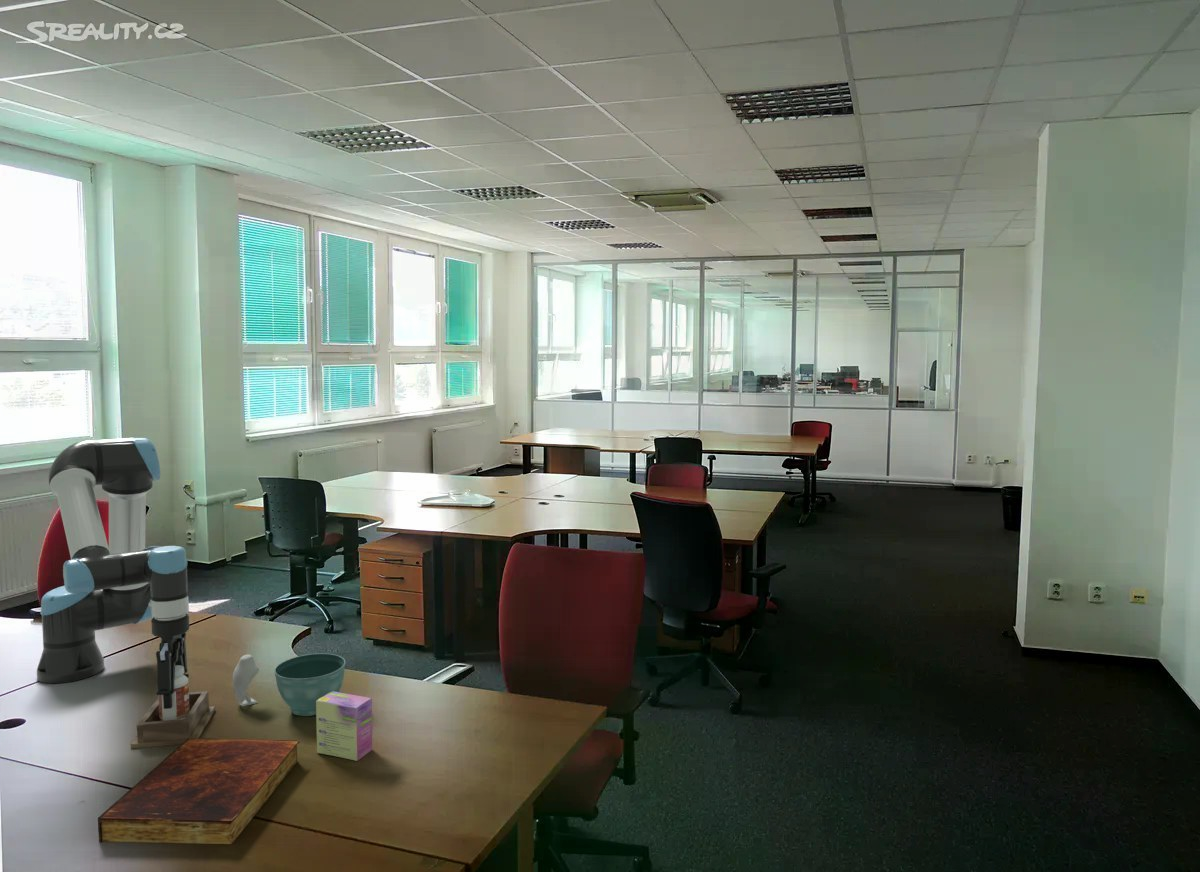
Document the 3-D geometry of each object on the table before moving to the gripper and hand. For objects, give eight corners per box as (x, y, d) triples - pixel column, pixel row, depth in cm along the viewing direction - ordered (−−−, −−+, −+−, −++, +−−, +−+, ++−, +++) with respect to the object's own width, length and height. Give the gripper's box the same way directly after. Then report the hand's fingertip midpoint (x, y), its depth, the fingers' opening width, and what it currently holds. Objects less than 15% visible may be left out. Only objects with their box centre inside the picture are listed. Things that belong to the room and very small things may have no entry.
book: (188, 760, 170) (187, 738, 170) (300, 763, 170) (300, 740, 169) (97, 845, 141) (96, 817, 140) (233, 848, 140) (232, 820, 140)
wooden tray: (156, 714, 191) (155, 694, 190) (215, 710, 194) (214, 690, 193) (130, 748, 174) (129, 726, 174) (195, 742, 177) (194, 721, 177)
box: (373, 749, 175) (372, 697, 174) (357, 761, 169) (356, 707, 168) (333, 741, 178) (332, 690, 177) (316, 753, 173) (315, 700, 172)
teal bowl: (277, 728, 184) (275, 682, 183) (274, 701, 199) (273, 658, 198) (350, 716, 191) (349, 671, 190) (342, 690, 206) (341, 649, 205)
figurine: (228, 702, 198) (227, 655, 197) (250, 696, 202) (248, 649, 201) (242, 711, 193) (240, 663, 192) (263, 704, 197) (262, 657, 196)
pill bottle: (191, 717, 183) (189, 670, 182) (160, 724, 179) (158, 676, 178) (188, 707, 188) (185, 661, 187) (158, 713, 185) (155, 667, 184)
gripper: (165, 603, 190) (169, 698, 192) (137, 630, 171) (142, 734, 174) (199, 602, 192) (203, 695, 194) (175, 628, 173) (179, 731, 175)
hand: (174, 713), depth 184 cm, fingers closed on pill bottle, 6 cm apart
